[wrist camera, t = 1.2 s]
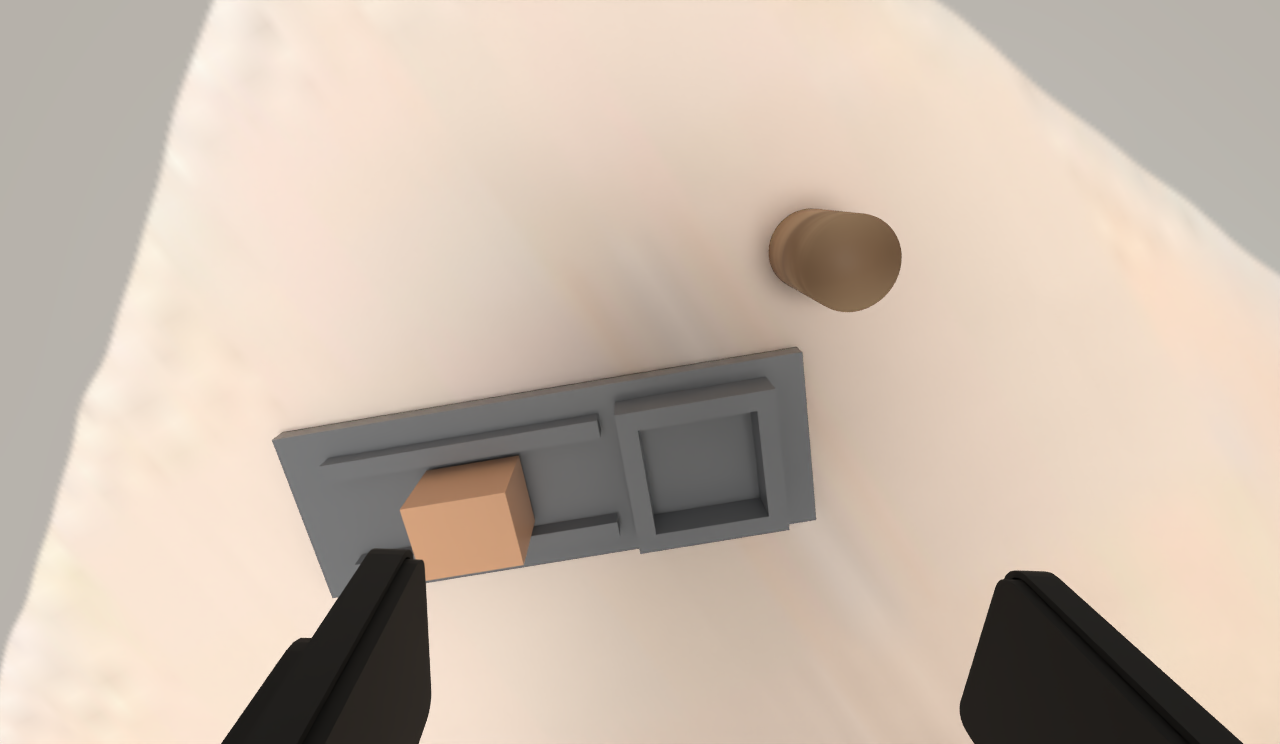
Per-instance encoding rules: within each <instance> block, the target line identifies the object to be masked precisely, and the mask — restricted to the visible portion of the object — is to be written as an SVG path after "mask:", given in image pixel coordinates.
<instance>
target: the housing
mask: <svg viewBox="0 0 1280 744" xmlns="http://www.w3.org/2000/svg"><path fill="white" fill-rule="evenodd" d="M272 442H273V444H274V447H275V449H276V452H277V455H278V457H279V460H280V462H281V465H282V468H283V470H284V473H285V475H286V478H287V481H288V483H289V486H290V488H291V491H292V494H293V496H294V499H295V501H296V504H297V507H298V509H299V512H300V515H301V517H302V520H303V522H304V525H305V528H306V530H307V533H308V535H309V538H310V541H311V543H312V546H313V548H314V551H315V554H316V556H317V559H318V561H319V564H320V567H321V569H322V572H323V574H324V577H325V580H326V582H327V585H328V587H329V590H330V593H331V595H332V598H336V597H339V596H340V594H341V593H342V591H343V590H344V588H345V587H346V585H347V584H348V582H349V581H350V579H351V578H352V576H353V575H354V573H355V572H356V570H357V569H358V567H359V566H360V564H361V563H362V561H363V560H364V558H365V557H366V555H367V554H368V553H369V551H370V550H371V549H374V548H382V549H409V550H411V551H412V553H413V550H412V547H411V544H410V540H409V537H408V534H407V531H406V528H405V525H404V522H403V519H402V516H401V513H400V508H401V507H402V506H403V504H404V503H405V501H406V500H407V498H408V497H409V495H410V494H411V492H412V491H413V489H414V488H415V487H416V485H417V484H418V482H419V481H420V479H421V478H422V476H423V475H424V473H425V472H426V471H427V470H433V469H439V468H446V467H452V466H458V465H464V464H470V463H476V462H482V461H488V460H494V459H500V458H506V457H512V456H518V455H519V458H520V462H521V466H522V470H523V474H524V478H525V482H526V486H527V490H528V494H529V498H530V502H531V507H532V511H533V515H534V519H535V523H534V527H533V531H532V535H531V539H530V543H529V547H528V551H527V555H526V559H525V562H524V565H521V566H515V567H509V568H503V569H496V570H490V571H484V572H478V573H472V574H466V575H459V576H453V577H447V578H441V579H435V580H428V581H426V583H429V582H435V581H441V580H447V579H454V578H460V577H466V576H472V575H478V574H485V573H491V572H497V571H503V570H509V569H515V568H522V567H528V566H534V565H540V564H546V563H553V562H559V561H565V560H571V559H577V558H583V557H590V556H596V555H602V554H608V553H614V552H621V551H627V550H633V549H639V548H640V554H643V553H649V552H655V551H662V550H668V549H674V548H680V547H686V546H693V545H699V544H705V543H711V542H717V541H723V540H730V539H736V538H742V537H748V536H754V535H761V534H767V533H773V532H779V531H785V530H790V529H789V524H794V523H800V522H806V521H812V520H816V512H815V500H814V487H813V475H812V463H811V451H810V439H809V427H808V415H807V403H806V391H805V378H804V366H803V354H802V351H801V350H799V349H798V348H797V347H794V348H788V349H782V350H776V351H770V352H764V353H758V354H752V355H746V356H740V357H734V358H728V359H722V360H716V361H710V362H704V363H698V364H692V365H686V366H680V367H674V368H668V369H662V370H656V371H650V372H644V373H638V374H632V375H626V376H620V377H614V378H608V379H601V380H595V381H589V382H583V383H577V384H571V385H565V386H559V387H553V388H547V389H541V390H535V391H529V392H523V393H517V394H511V395H505V396H499V397H493V398H487V399H481V400H475V401H469V402H463V403H457V404H451V405H445V406H439V407H433V408H427V409H421V410H415V411H409V412H403V413H397V414H391V415H385V416H379V417H373V418H367V419H361V420H355V421H349V422H343V423H337V424H331V425H325V426H319V427H313V428H307V429H301V430H295V431H289V432H283V433H281V434H280V435H278V436H277V437H276V438H274V439H273V440H272ZM413 558H414V559H415V556H414V553H413Z"/></svg>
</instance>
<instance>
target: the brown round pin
mask: <svg viewBox="0 0 1280 744" xmlns="http://www.w3.org/2000/svg"><path fill="white" fill-rule="evenodd" d="M901 257H902V256H901V248H900V243H899V241H898V238H897V236H896V234H895V233H894V231H893V230H892V229H891V227H890V226H889V225H888V224H887V223H885V222H884V221H882V220H881V219H879V218H877V217H875V216H872V215H868V214H861V213H851V212H842V211H832V210H822V209H804V210H800V211H797V212H794V213H793V214H791V215H789V216H788V217H786V218H785V219H784V220H783V221H782V222H781V223H780V224H779V225H778V226H777V228H776V229H775V231H774V233H773V235H772V238H771V240H770V245H769V260H770V264H771V267H772V269H773V271H774V272H775V274H776V275H777V277H778V278H779V279H780V280H781V281H783V282H784V283H786V284H787V285H789V286H791V287H792V288H794V289H796V290H798V291H799V292H801V293H803V294H805V295H807V296H808V297H810V298H812V299H814V300H815V301H817V302H819V303H821V304H822V305H824V306H826V307H828V308H830V309H833V310H836V311H841V312H855V311H859V310H863V309H866V308H868V307H870V306H872V305H874V304H876V303H877V302H879V301H880V300H881V299H882V298H883V297H884V296H885V295H886V294H887V293H888V292H889V291H890V289H891V288H892V287H893V285H894V283H895V282H896V279H897V277H898V275H899V271H900V267H901Z"/></svg>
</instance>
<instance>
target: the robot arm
mask: <svg viewBox="0 0 1280 744" xmlns="http://www.w3.org/2000/svg"><path fill="white" fill-rule="evenodd" d="M430 703H431V677H430V657H429V638H428V618H427V598H426V579H425V564H424V561H423V560H420V559H414V558H413V553H412V551H411V550H409V549H382V548H374V549H371V550H370V551H369V553H368V554H367V555H366V557H365V558H364V560H363V561H362V563H361V564H360V566H359V567H358V569H357V570H356V572H355V573H354V575H353V576H352V578H351V579H350V581H349V582H348V584H347V585H346V587H345V588H344V590H343V591H342V593H341V594H340V596H339V597H338V599H337V600H336V602H335V604H334V605H333V607H332V608H331V610H330V611H329V613H328V614H327V616H326V617H325V619H324V620H323V622H322V623H321V625H320V626H319V628H318V629H317V631H316V632H315V634H314V635H313V637H312V638H300V639H298V640H296V641H295V642H293V643H292V645H291V646H290V647H289V648H288V649H287V650H286V652H285V653H284V654H283V656H282V657H281V659H280V660H279V662H278V663H277V664H276V666H275V667H274V669H273V670H272V672H271V673H270V674H269V676H268V677H267V679H266V680H265V682H264V683H263V684H262V686H261V687H260V689H259V690H258V692H257V693H256V694H255V696H254V697H253V699H252V700H251V702H250V703H249V705H248V706H247V707H246V709H245V710H244V712H243V713H242V715H241V716H240V717H239V719H238V720H237V722H236V723H235V725H234V726H233V727H232V729H231V730H230V732H229V733H228V735H227V736H226V737H225V739H224V740H223V742H222V743H221V744H419V741H420V738H421V735H422V733H423V730H424V727H425V724H426V721H427V718H428V714H429V709H430ZM960 716H961V720H962V723H963V726H964V728H965V730H966V731H967V733H968V735H969V736H970V738H971V739H972V741H973V742H974V744H1243V743H1242V742H1241V741H1240V740H1239V739H1238V738H1236V737H1235V736H1234V735H1233V734H1232V733H1231V732H1230V731H1229V730H1228V729H1226V728H1225V727H1224V726H1223V725H1222V724H1221V723H1220V722H1219V721H1218V720H1216V719H1215V718H1214V717H1213V716H1212V715H1211V714H1210V713H1209V712H1208V711H1206V710H1205V709H1204V708H1203V707H1202V706H1201V705H1200V704H1199V703H1197V702H1196V701H1195V700H1194V699H1193V698H1192V697H1191V696H1190V695H1189V694H1187V693H1186V692H1185V691H1184V690H1183V689H1182V688H1181V687H1180V686H1179V685H1177V684H1176V683H1175V682H1174V681H1173V680H1172V679H1171V678H1170V677H1169V676H1167V675H1166V674H1165V673H1164V672H1163V671H1162V670H1161V669H1160V668H1158V667H1157V666H1156V665H1155V664H1154V663H1153V662H1152V661H1151V660H1150V659H1148V658H1147V657H1146V656H1145V655H1144V654H1143V653H1142V652H1141V651H1140V650H1138V649H1137V648H1136V647H1135V646H1134V645H1133V644H1132V643H1131V642H1129V641H1128V640H1127V639H1126V638H1125V637H1124V636H1123V635H1122V634H1121V633H1119V632H1118V631H1117V630H1116V629H1115V628H1114V627H1113V626H1112V625H1111V624H1109V623H1108V622H1107V621H1106V620H1105V619H1104V618H1103V617H1102V616H1101V615H1099V614H1098V613H1097V612H1096V611H1095V610H1094V609H1093V608H1092V607H1090V606H1089V605H1088V604H1087V603H1086V602H1085V601H1084V600H1083V599H1082V598H1080V597H1079V596H1078V595H1077V594H1076V593H1075V592H1074V591H1073V590H1072V589H1070V588H1069V587H1068V586H1067V585H1066V584H1065V583H1064V582H1063V581H1062V580H1060V579H1059V578H1058V577H1057V576H1055V575H1054V574H1052V573H1049V572H1044V571H1011V572H1009V573H1008V574H1007V575H1006V576H1005V578H1004V579H1003V580H1000V581H999V582H998V583H997V585H996V587H995V590H994V594H993V597H992V600H991V603H990V607H989V610H988V613H987V617H986V620H985V623H984V626H983V630H982V633H981V636H980V640H979V643H978V646H977V649H976V653H975V656H974V659H973V662H972V666H971V669H970V672H969V676H968V679H967V682H966V685H965V689H964V692H963V695H962V698H961V702H960Z"/></svg>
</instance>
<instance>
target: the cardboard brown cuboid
mask: <svg viewBox="0 0 1280 744" xmlns="http://www.w3.org/2000/svg"><path fill="white" fill-rule="evenodd" d="M400 513H401V516H402V519H403V522H404V525H405V528H406V531H407V534H408V537H409V540H410V544H411V547H412V550H413V553H414V556H415V559H420V560H423V561H424V564H425V579H426V581H428V580H435V579H441V578H447V577H453V576H459V575H466V574H472V573H478V572H484V571H490V570H496V569H503V568H509V567H515V566H521V565H524V562H525V559H526V555H527V551H528V547H529V543H530V539H531V535H532V531H533V527H534V523H535V519H534V515H533V511H532V507H531V502H530V498H529V494H528V490H527V486H526V482H525V478H524V474H523V470H522V466H521V462H520V458H519V455H518V456H512V457H506V458H500V459H494V460H488V461H482V462H476V463H470V464H464V465H458V466H452V467H446V468H439V469H433V470H427V471H426V472H425V473H424V475H423V476H422V478H421V479H420V481H419V482H418V484H417V485H416V487H415V488H414V489H413V491H412V492H411V494H410V495H409V497H408V498H407V500H406V501H405V503H404V504H403V506H402V507H401V508H400Z"/></svg>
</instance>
